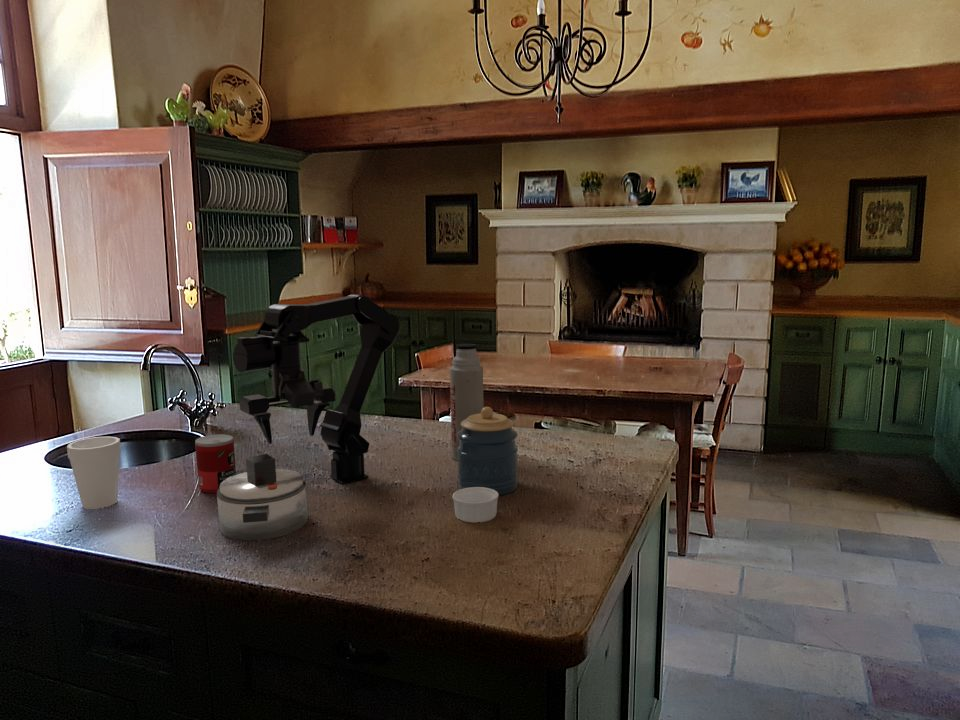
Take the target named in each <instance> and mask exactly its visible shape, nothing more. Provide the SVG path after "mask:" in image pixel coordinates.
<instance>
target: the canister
mask: <svg viewBox="0 0 960 720" xmlns="http://www.w3.org/2000/svg"><path fill="white" fill-rule="evenodd" d="M514 424H515V423H514V421H513V420H512V419H509V418H508V417H507V416H506V415H504V414H501V413H495V412H494V410H493V409H492V408H491V407H490V406H484V408H483V409H482V410H481V414H474V415H471V416H469V417H468V418H467V419H465V420H463V421H462V422H461V426H462V427H463V428H462V430H460V431H459V432H458V433H457V437H458V438H459V439H460V443H459V447H458V448H457V452H458V461H457V462H458V463H457V464H458V465H457V471H458V475H457V483H458V487H459V488H458V489H459V490H460V489H464V488H470V487H485V488H490V489H493V490H495V491H497V492H498V494H499V496H503V495H507V494H510V493H512V492H514V491H515V490H516V489H517V486H518V482H519V479H518V478H519V474H518V451H519V449H518V446H517V445H516V439H517V437H518V435H519V433H518V432H517V431H516V430H515V429H513V426H514Z"/></svg>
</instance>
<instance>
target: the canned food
mask: <svg viewBox="0 0 960 720" xmlns="http://www.w3.org/2000/svg"><path fill="white" fill-rule="evenodd" d="M194 441H195V443H194V446H195V458H196V468H197V469H196V470H197V479H198V488H199V489H200V491H201V492H203V493H205V492H206V493H207V494H217V491H218V489H219V488H220V484H221V483H222V482H223V481H224V480H226V479H227V478H229V477H232V476H234V475H237V469H236V455H235V439H234V436H232V435H229V434H223V433H222V434H210V435H205V436H200V437H198V438H196V439H195V440H194ZM206 493H205V494H206Z"/></svg>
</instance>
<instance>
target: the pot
mask: <svg viewBox="0 0 960 720" xmlns="http://www.w3.org/2000/svg"><path fill="white" fill-rule="evenodd" d="M216 500H217V501H216V502H217V513H218V525H219V532H220V533H221V535H223V536H224V537H226V538H229V539H233V540H240V541H261V540H267V539H268V540H269V539H275V538H279V537H282V536H283V537H284V536H286V535H288V534H291V533H293V532H296V531H298V530H299V528H300V529H301V528H302V527H304V526H303V525H304V524H305V523H307V522H308V520H309V519H308V504H307V502H308V501H307V486H306V481H305V480H304V479H303V487H302V488H301V489H300V490H298V491H297V492H295V493H293V494H290V495H288V496H285V497H281V498H277V499H273V500H267V501H257V502H240V501H232V500H228V499H226V498H224V497H222V496H221V494H220V488H219V489H218V491H217V493H216ZM307 519H308V520H307ZM305 525H306V524H305Z"/></svg>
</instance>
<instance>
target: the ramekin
mask: <svg viewBox="0 0 960 720" xmlns="http://www.w3.org/2000/svg"><path fill="white" fill-rule="evenodd" d="M499 496H500V495H499V494H498V492H497V491H495V490H493V489H490V488H485V487H470V488H464V489H460V488H459V489H458V490H456V491H455V492H454V491H453V494H452V500H453V504H454V505H453V506H454V515H455V517H456V518H457V519H458V520H459V519H460V520H459V521H461V520H462V522H465V523H470V522H471V523H472V524H478V522H480V523H485V522H489V521H491V520H493V519H494V518H495V517H496V516H497V513H498V512H497V511H498V509H497V508H498V499H499ZM471 523H470V524H471Z"/></svg>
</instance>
